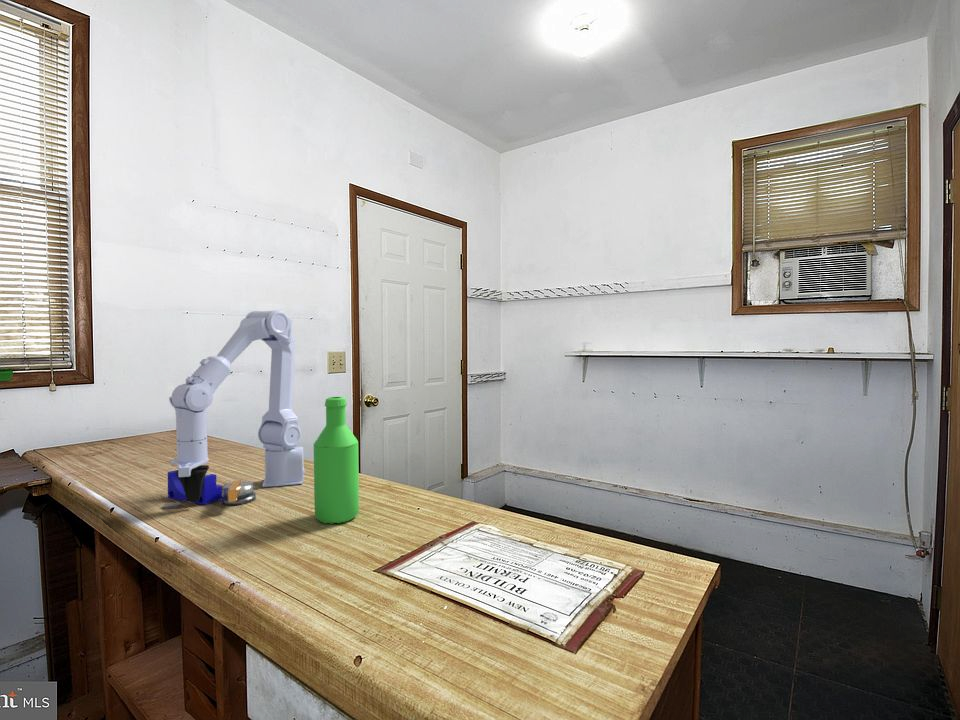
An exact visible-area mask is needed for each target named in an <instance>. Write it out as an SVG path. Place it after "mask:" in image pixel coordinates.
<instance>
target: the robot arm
mask: <svg viewBox="0 0 960 720" xmlns="http://www.w3.org/2000/svg"><path fill="white" fill-rule="evenodd" d="M292 327H293V320H292V319H291V318H290V317H289V316H288V314H286V313H285V312H284V311H283V310H280V309H275V310H262V311H260V310H252V311H250V312H248V314H247V315H246V316H245V318H243V319H241V321H240V324H239V326H238V327H237V329H236V330H235V332H234V333H233V334H232V336H231V337H230V338H229V339H228V341H226V343H225V345H224V346H223V347H222V348H221V349H220V351H219V352H218V353H217V355H215V356H207V357H206V358H203V359H202V360H200V362H199V364H200V365H199V367H198V368H197V369H196V370H195V371H193V373H192V374H191V376H187V377H186V379H185V383H182V384H179V385H177V386H176V387H175V388H174V389H173V391H172V393H171V396H169V398H168V400H169V403H170V405H171V406H172V407H173V409H174V410H175V411H174V412H175V429H176V431H175V432H176V433H175V434H176V459H172V460H171V461H170V465H172V466H173V465H175V466H177V468H178V469H177V470H178V471H176V476H177V477H178V479H179V480H180V482H181V483H182V486H183V488H184V492H185V495H186V499H187V501H188V502H187V501H186V502H187V503H193V502H195V501H199V499H200V496H201V491H202V485H203V481H204V478H205V476H206V475H207V473H208V470H209V469H210V466H209V465H207V463H209V460H210V458H209V456H208V454H209V453H208V451H209V450H208V424H207V423H208V420H207V413H208V412H207V409H208V407H210V406H211V405H212V403H213V400H214V393H215V392H216V390H217V389H218V388H219V387H220V385H222V383H223V382H224V380H226V378H228V376H229V375H230V373H231V372H232V369H231V364H232V363H233V362H235V360H236V359H238V357H239V356H241V354H242V353H244V351H245V350H246V349H247V348H248V347H249V346H250V345H251V344H252V343H253V342H254V341H259V340H261V341H263V342H264V343H265V344H266V345H267V346H268V347H269V348H270V349H271V359H270V360H271V361H270V377H269V379H270V380H269V396H268V410H267V411H266V412H265V413H264V414H263V416H262V417H261V424H260V426H259V428H258V431H257V437H258V440H259V442H260V443H261V444H262V445H263V448H264V476H265V477H264V480H263V482H262V485H261V487H262V488H272V487H281V486H293V485H302V484H303V483H304V476H305V474H306V471H305V467H304V447H303V446H297V445H299V443H300V441H301V438H302V430H301V428H300V419H299V417H298V416H297V414H296V413H295V412H294V411H293V409H292V408H293V393H294V374H295V373H294V372H295V369H294V368H295V353H296V350H295V349H296V340H295V339H294V338H295V337H294V335H293V332H292V329H293V328H292Z"/></svg>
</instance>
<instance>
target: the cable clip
mask: <svg viewBox="0 0 960 720" xmlns="http://www.w3.org/2000/svg"><path fill="white" fill-rule="evenodd" d="M176 471H178V469H175V470H170V471H168V472H167V498H168V499H170V500H171V499H172V500H176V501H177V500H178V501H182V502H187V503H189V502H188V501H187V499H186V495H185V492H184V488H183V486H182V483H181V482H180V480H179V479H178V477H177V476H176ZM222 497H223V485H219V484H217V474H215V473H210V474H206V475H205V478H204V481H203V485H202V491H201V496H200V499H199V501H195V502H192V504H193V503H194V504H199V505H208V504H210V503H211V504H212V503H214V502H217V501H220V500H222Z"/></svg>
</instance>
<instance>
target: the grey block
mask: <svg viewBox="0 0 960 720" xmlns="http://www.w3.org/2000/svg"><path fill="white" fill-rule="evenodd" d="M180 505H181V502H174V503H164V504H163V505H162V507H161V509H162V510H164V509H166V510H167V509H175V508H179V507H180Z"/></svg>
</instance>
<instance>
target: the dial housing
mask: <svg viewBox="0 0 960 720" xmlns="http://www.w3.org/2000/svg"><path fill="white" fill-rule="evenodd" d="M256 495H257V493H256V492H254V491H253V494H252V495H251V496H248V497H245V498H239V499H237V501H232V502H228V499H227V498H224V495H222V499H221V504H222V505H224V506H229V507H231V506H241V505H247V504H250V503H252V502H254V501H255V500H256V499H257V497H256Z"/></svg>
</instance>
